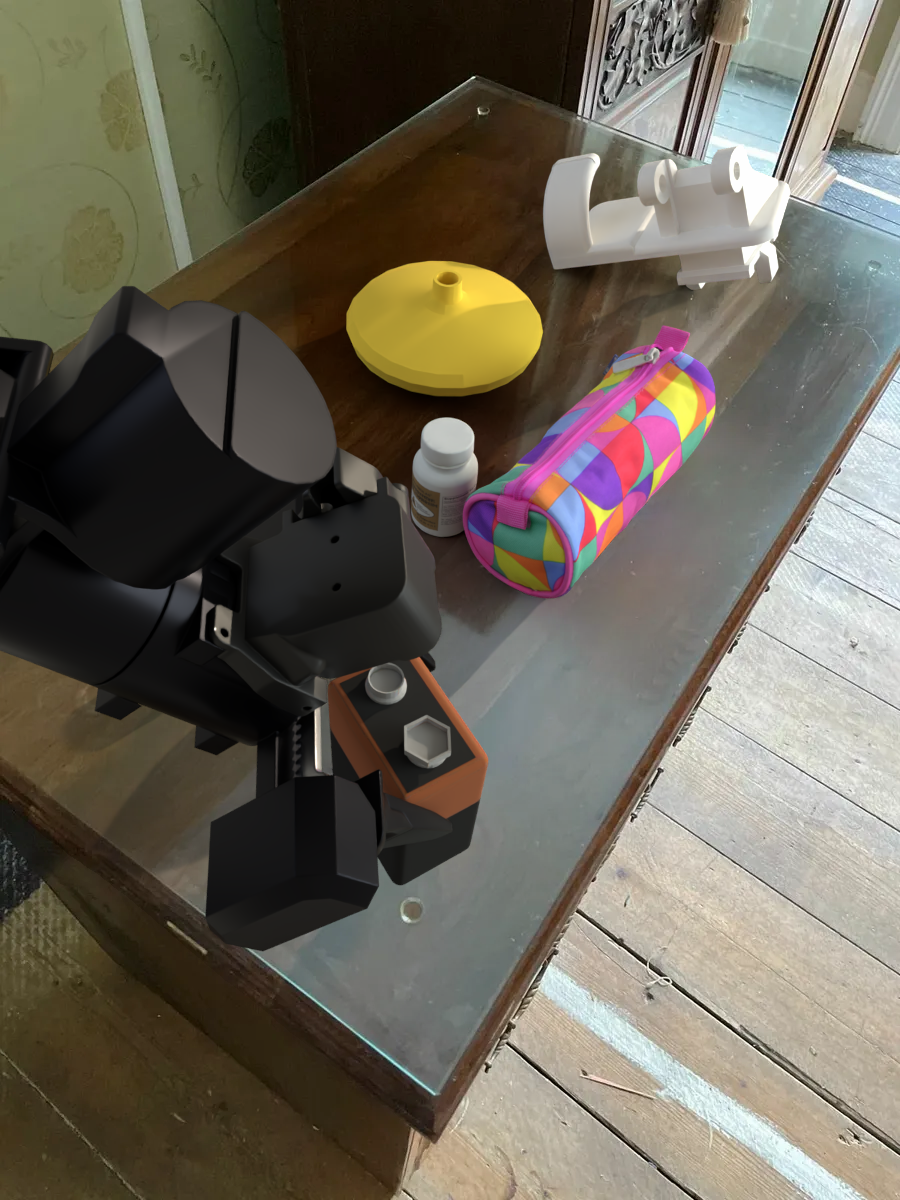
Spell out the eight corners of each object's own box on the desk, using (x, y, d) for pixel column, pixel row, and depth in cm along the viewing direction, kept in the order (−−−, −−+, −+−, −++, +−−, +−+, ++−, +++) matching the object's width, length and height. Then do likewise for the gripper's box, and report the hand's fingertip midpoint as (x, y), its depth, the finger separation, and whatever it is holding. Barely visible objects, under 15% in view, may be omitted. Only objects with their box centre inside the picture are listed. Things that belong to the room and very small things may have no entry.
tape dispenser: (564, 328, 89) (522, 191, 82) (612, 269, 95) (578, 137, 88) (778, 312, 77) (752, 150, 70) (817, 246, 84) (798, 90, 76)
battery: (395, 892, 44) (402, 799, 36) (328, 777, 48) (321, 668, 40) (474, 848, 46) (497, 749, 38) (404, 739, 49) (411, 627, 41)
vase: (420, 272, 85) (423, 198, 79) (572, 343, 80) (587, 269, 75) (307, 362, 77) (301, 287, 71) (469, 447, 72) (477, 373, 66)
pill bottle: (401, 502, 68) (403, 421, 62) (456, 486, 69) (463, 405, 63) (426, 546, 66) (430, 466, 60) (482, 528, 67) (493, 448, 61)
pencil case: (601, 398, 76) (625, 302, 69) (708, 449, 73) (743, 355, 66) (447, 566, 65) (455, 472, 58) (565, 634, 62) (590, 544, 55)
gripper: (285, 770, 22) (637, 902, 32) (289, 288, 33) (550, 498, 43) (28, 910, 28) (398, 985, 38) (105, 454, 39) (375, 607, 49)
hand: (436, 746), depth 42 cm, fingers closed on battery, 7 cm apart
